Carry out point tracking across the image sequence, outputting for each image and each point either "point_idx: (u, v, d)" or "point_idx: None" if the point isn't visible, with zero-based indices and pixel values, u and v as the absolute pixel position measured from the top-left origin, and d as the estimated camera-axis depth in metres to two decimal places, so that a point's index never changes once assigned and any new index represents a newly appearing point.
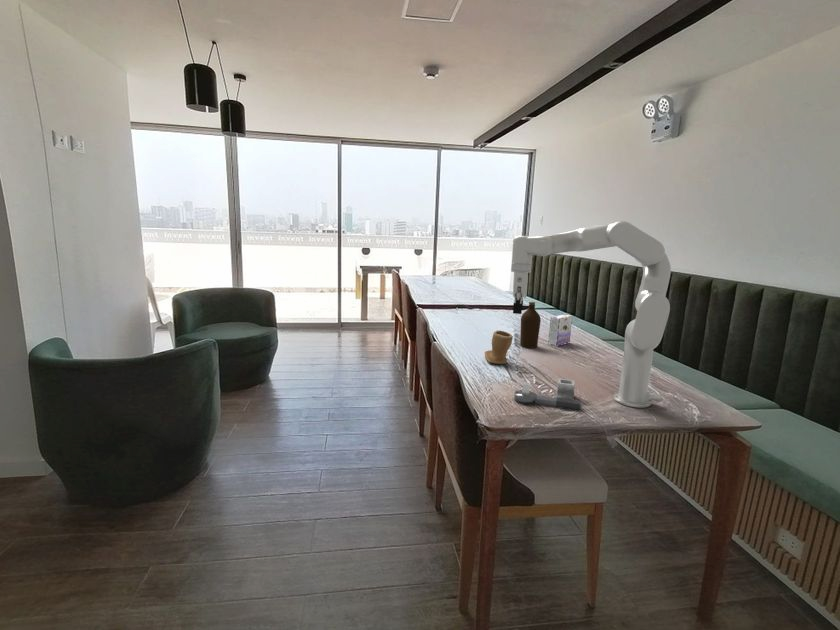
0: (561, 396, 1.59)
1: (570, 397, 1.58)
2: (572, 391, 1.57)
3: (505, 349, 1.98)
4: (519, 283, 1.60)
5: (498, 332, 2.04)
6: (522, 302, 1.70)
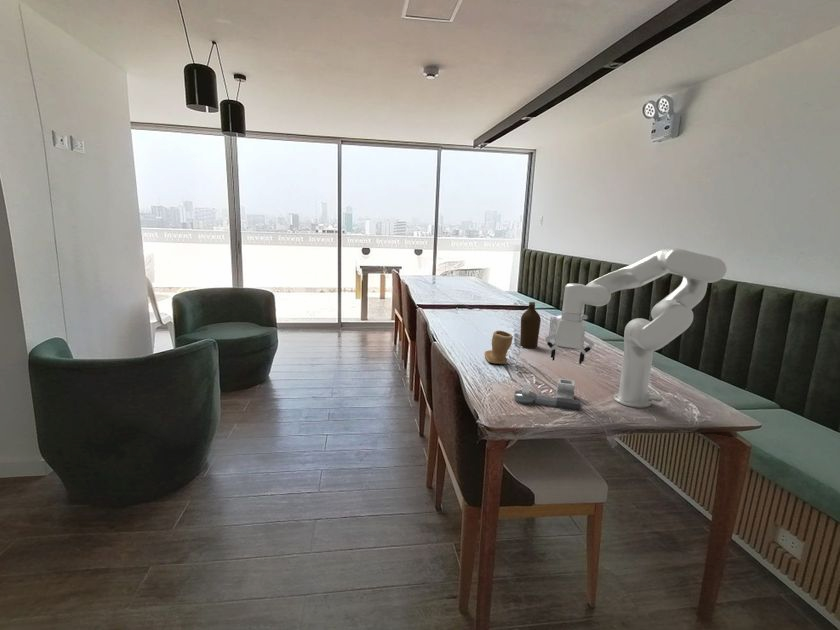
0: (561, 396, 1.59)
1: (570, 397, 1.58)
2: (572, 391, 1.57)
3: (505, 349, 1.98)
4: (584, 333, 1.55)
5: (498, 332, 2.04)
6: None
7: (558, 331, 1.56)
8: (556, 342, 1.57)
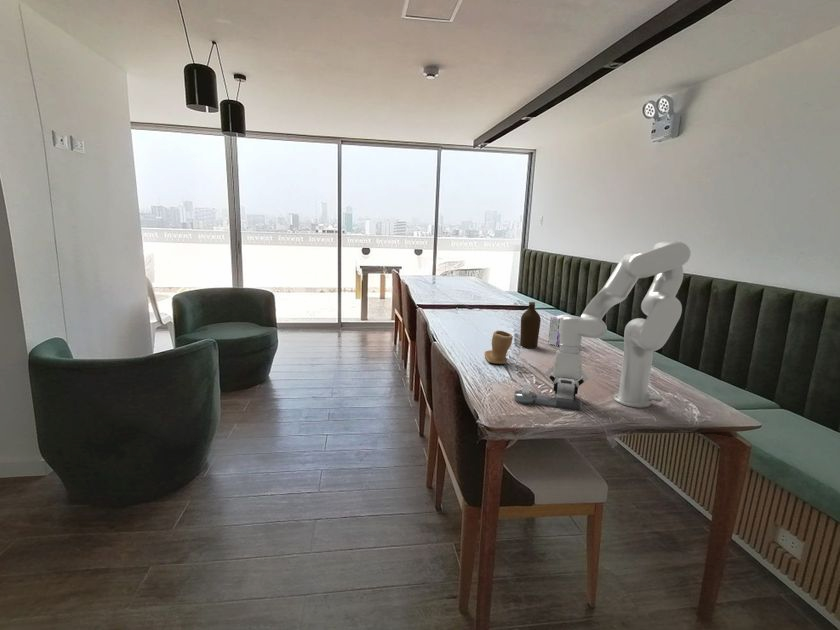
0: (561, 396, 1.59)
1: (570, 397, 1.58)
2: (572, 391, 1.57)
3: (505, 349, 1.98)
4: None
5: (498, 332, 2.04)
6: None
7: (556, 363, 1.58)
8: (554, 373, 1.59)
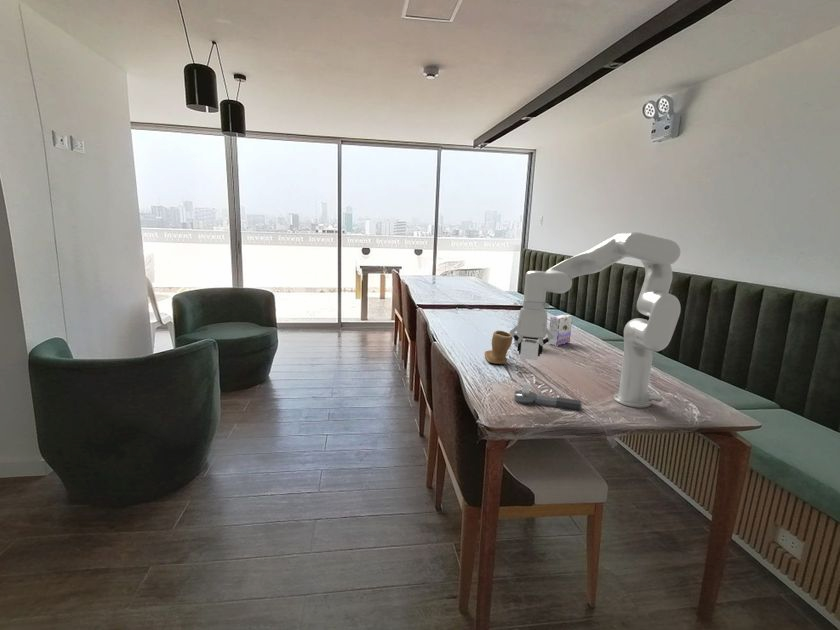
0: (525, 356, 1.51)
1: (534, 356, 1.50)
2: (536, 350, 1.49)
3: (505, 349, 1.98)
4: (546, 322, 1.49)
5: (498, 332, 2.04)
6: None
7: (519, 320, 1.50)
8: (518, 332, 1.51)
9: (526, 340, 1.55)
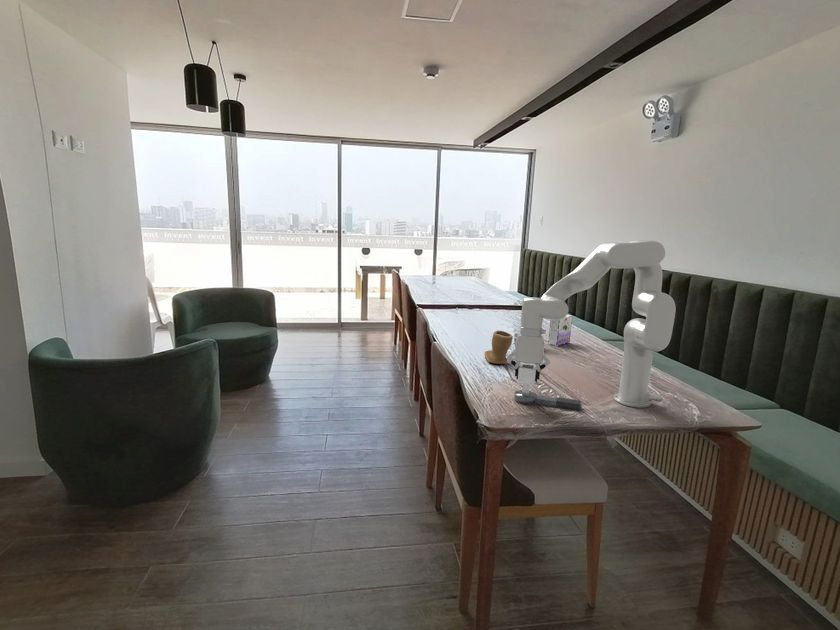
0: (522, 381, 1.52)
1: (531, 382, 1.51)
2: (533, 376, 1.51)
3: (505, 349, 1.98)
4: (543, 348, 1.51)
5: (498, 332, 2.04)
6: None
7: (517, 346, 1.52)
8: (515, 358, 1.53)
9: (523, 365, 1.56)
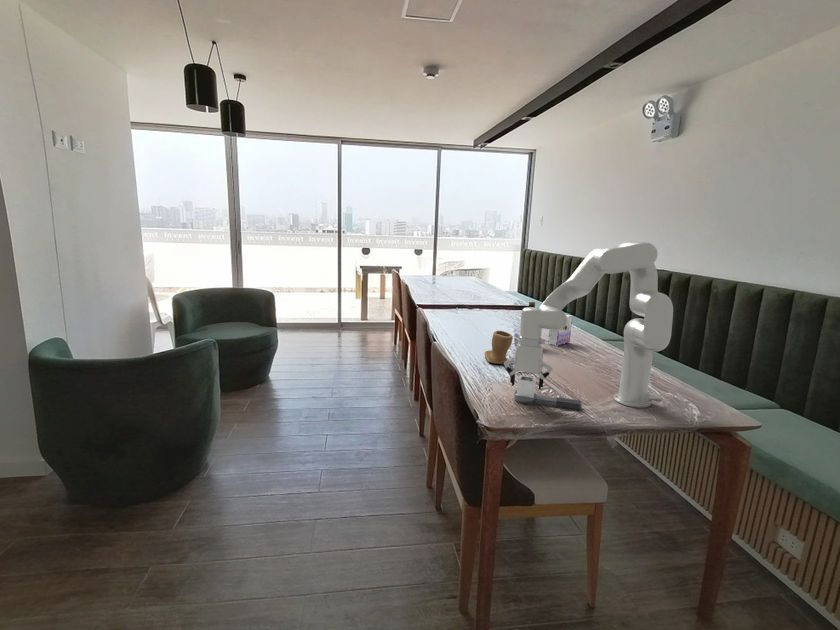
0: (521, 393, 1.53)
1: (530, 394, 1.52)
2: (532, 388, 1.52)
3: (505, 349, 1.98)
4: (542, 357, 1.52)
5: (498, 332, 2.04)
6: None
7: (516, 356, 1.53)
8: (514, 367, 1.54)
9: (522, 377, 1.57)
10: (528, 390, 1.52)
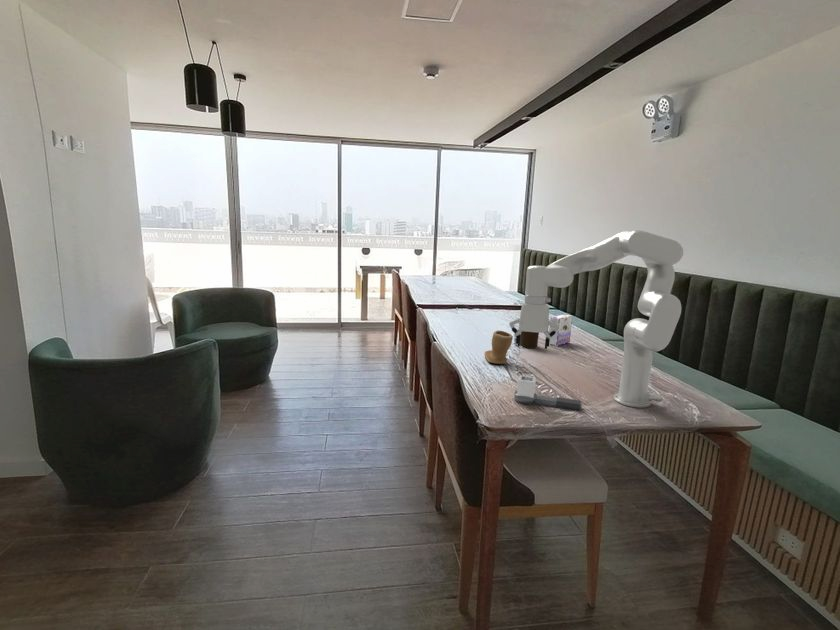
0: (521, 393, 1.53)
1: (530, 394, 1.52)
2: (532, 388, 1.52)
3: (505, 349, 1.98)
4: (548, 316, 1.50)
5: (498, 332, 2.04)
6: (520, 336, 1.55)
7: (521, 316, 1.50)
8: (520, 327, 1.51)
9: (522, 377, 1.57)
10: (528, 390, 1.52)
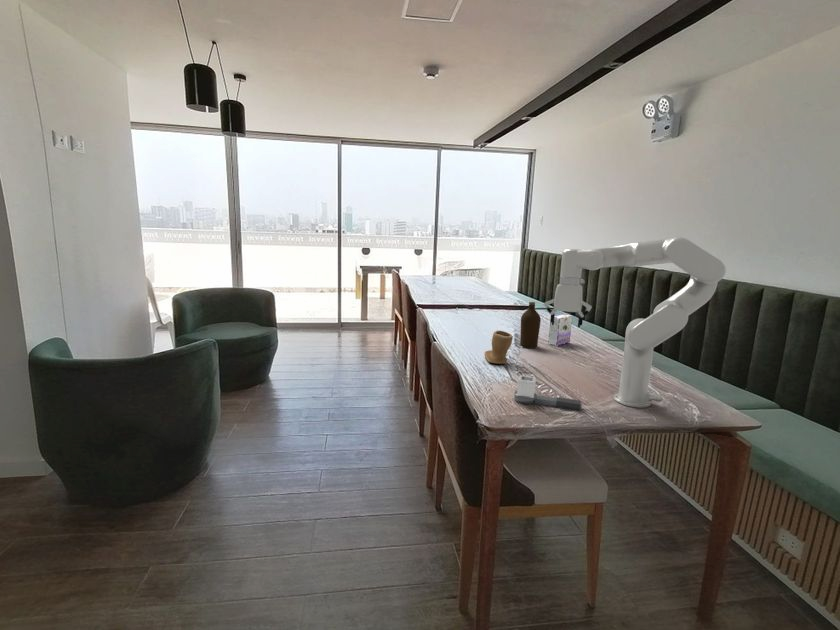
0: (521, 393, 1.53)
1: (530, 394, 1.52)
2: (532, 388, 1.52)
3: (505, 349, 1.98)
4: None
5: (498, 332, 2.04)
6: None
7: (556, 296, 1.61)
8: (555, 307, 1.62)
9: (522, 377, 1.57)
10: (528, 390, 1.52)
